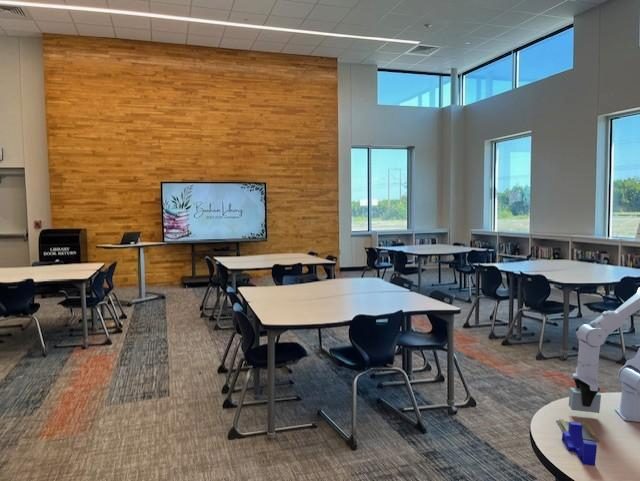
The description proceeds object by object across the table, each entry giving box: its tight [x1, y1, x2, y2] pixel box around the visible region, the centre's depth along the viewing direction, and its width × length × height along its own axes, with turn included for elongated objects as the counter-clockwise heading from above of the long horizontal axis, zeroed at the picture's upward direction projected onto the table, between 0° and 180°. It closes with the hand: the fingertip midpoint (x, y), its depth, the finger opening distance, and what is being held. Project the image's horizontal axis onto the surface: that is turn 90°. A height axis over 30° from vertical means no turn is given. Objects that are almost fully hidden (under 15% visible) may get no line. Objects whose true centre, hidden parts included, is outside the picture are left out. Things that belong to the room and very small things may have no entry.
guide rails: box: [558, 418, 598, 439], centre depth 142 cm, size 8×8×1 cm
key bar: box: [568, 387, 602, 414], centre depth 152 cm, size 8×4×6 cm, turn 78°
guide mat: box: [555, 419, 600, 442], centre depth 143 cm, size 9×10×1 cm
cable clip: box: [561, 421, 598, 467], centre depth 131 cm, size 12×4×6 cm, turn 170°
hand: (584, 403), depth 152 cm, fingers closed on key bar, 4 cm apart
